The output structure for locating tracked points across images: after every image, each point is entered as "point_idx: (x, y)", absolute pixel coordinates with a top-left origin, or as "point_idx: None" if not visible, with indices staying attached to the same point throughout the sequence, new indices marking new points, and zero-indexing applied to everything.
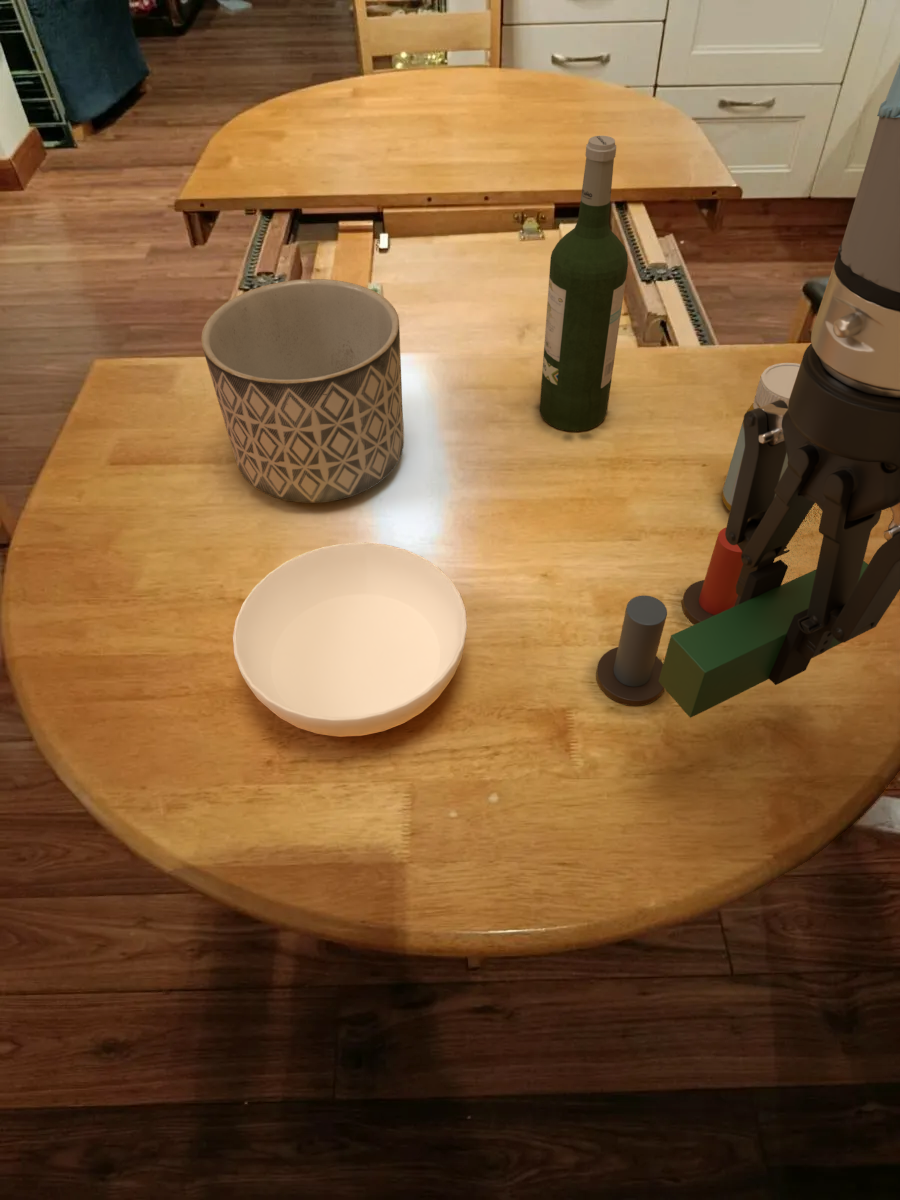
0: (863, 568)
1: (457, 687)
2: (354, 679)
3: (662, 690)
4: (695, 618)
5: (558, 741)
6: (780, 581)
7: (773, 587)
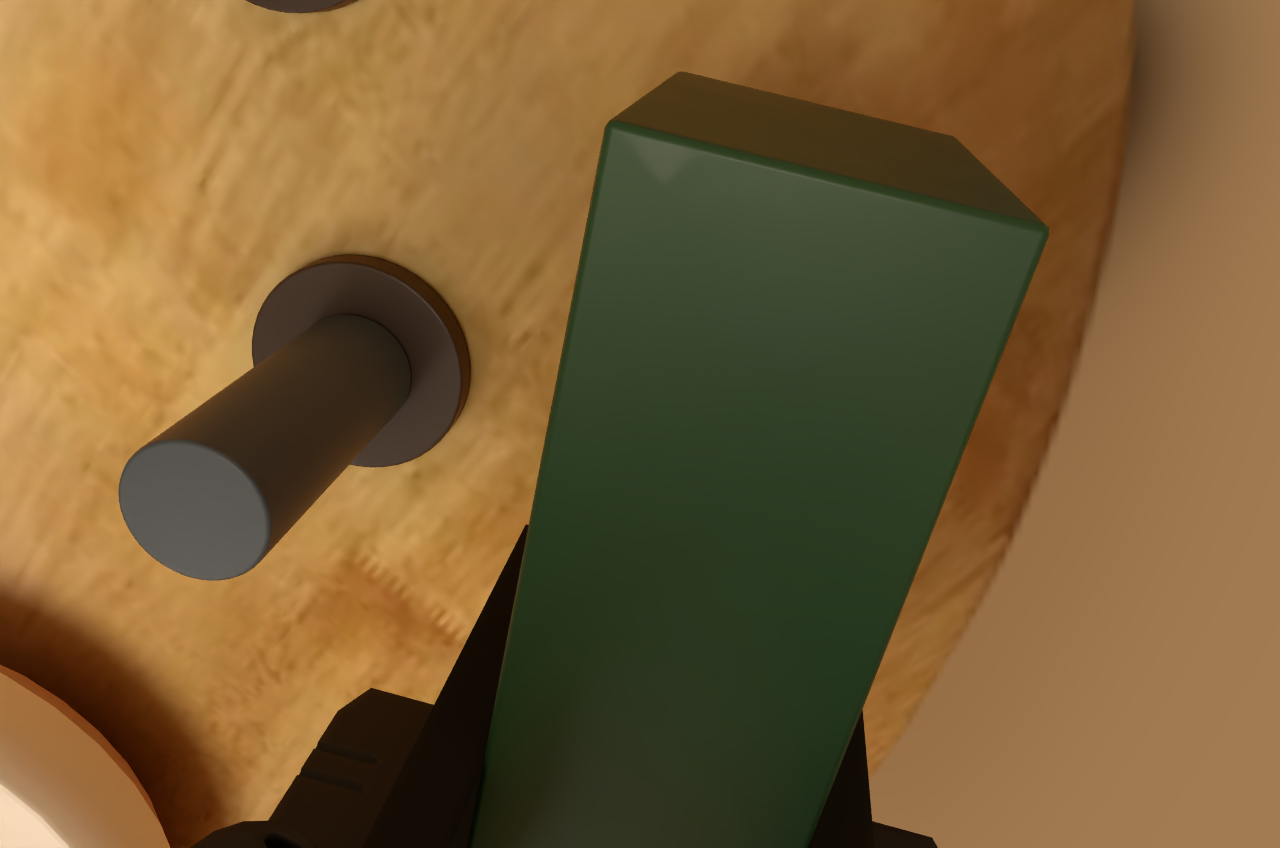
0: (778, 244)
1: (152, 682)
2: (22, 822)
3: (459, 352)
4: (295, 12)
5: (415, 637)
6: (468, 810)
7: (471, 820)
